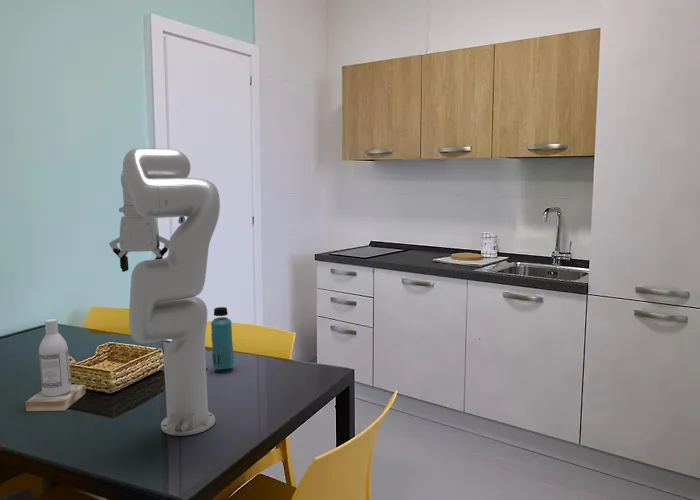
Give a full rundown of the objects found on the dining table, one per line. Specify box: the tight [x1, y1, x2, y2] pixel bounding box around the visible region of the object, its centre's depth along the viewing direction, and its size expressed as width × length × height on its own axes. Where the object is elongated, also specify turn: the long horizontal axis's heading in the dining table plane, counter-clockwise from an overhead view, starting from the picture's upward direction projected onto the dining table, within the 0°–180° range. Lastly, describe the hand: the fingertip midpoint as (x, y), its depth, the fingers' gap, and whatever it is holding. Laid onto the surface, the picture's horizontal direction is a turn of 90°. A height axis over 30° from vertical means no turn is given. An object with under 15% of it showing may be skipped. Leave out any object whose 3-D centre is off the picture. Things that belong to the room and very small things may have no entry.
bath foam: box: [38, 318, 72, 397], centre depth 151 cm, size 7×7×20 cm
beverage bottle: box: [210, 306, 235, 370], centre depth 174 cm, size 6×7×20 cm
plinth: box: [24, 384, 87, 412], centre depth 152 cm, size 12×10×3 cm
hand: (142, 270), depth 162 cm, fingers open, 9 cm apart
